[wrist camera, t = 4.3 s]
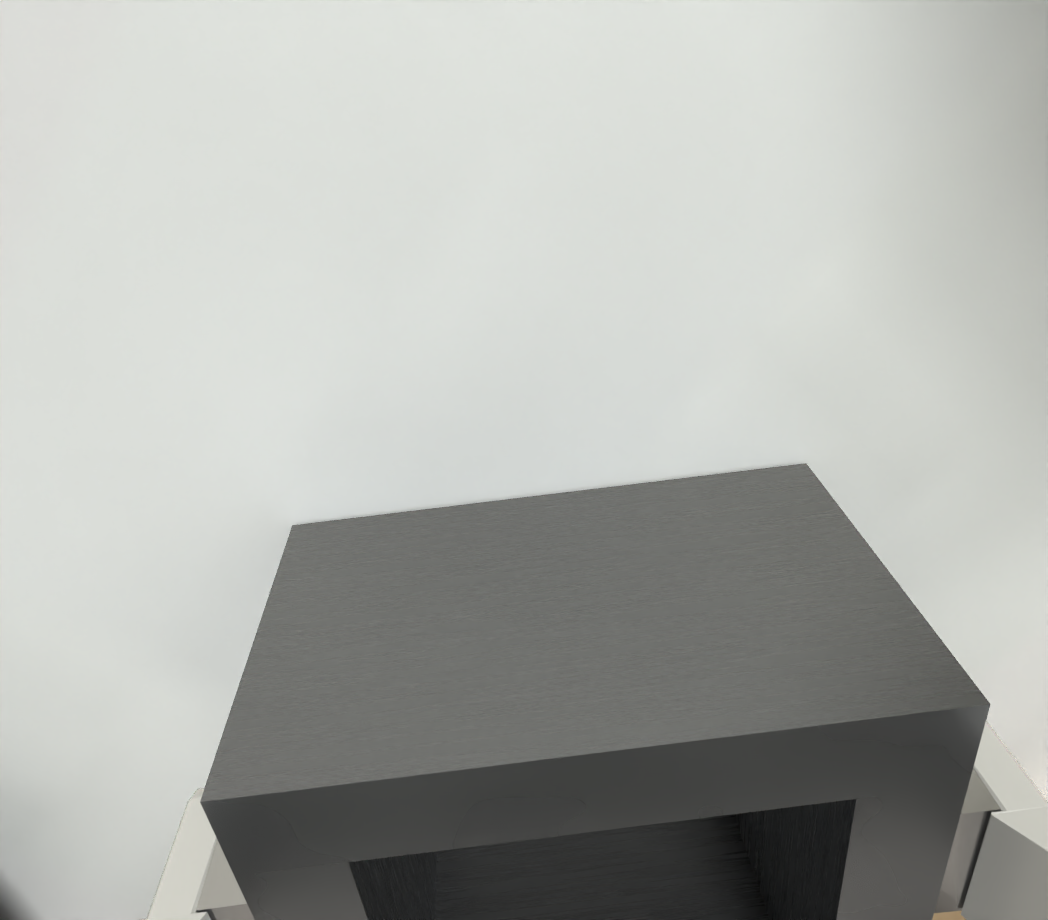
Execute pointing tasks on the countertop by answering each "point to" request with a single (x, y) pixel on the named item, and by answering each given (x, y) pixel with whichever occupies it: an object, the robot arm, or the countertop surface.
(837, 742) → the grey square ring
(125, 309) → the countertop surface
